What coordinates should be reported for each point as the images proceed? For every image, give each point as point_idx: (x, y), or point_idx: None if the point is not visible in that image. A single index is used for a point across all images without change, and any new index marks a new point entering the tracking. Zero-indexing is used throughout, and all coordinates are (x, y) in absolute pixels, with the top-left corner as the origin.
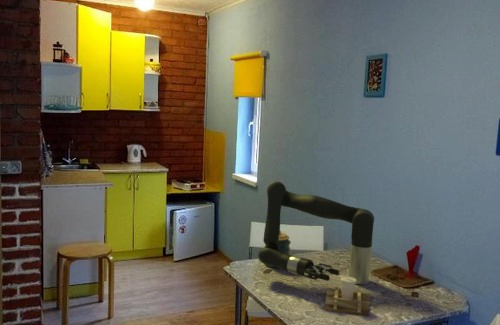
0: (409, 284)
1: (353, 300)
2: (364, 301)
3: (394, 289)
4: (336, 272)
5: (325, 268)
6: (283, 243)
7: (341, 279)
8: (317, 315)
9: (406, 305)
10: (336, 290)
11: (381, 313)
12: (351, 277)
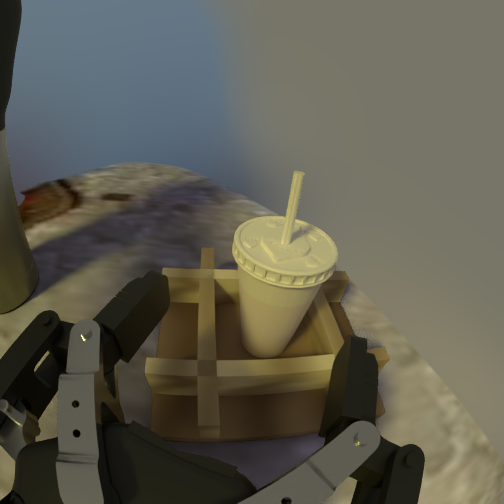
0: (60, 200)
1: (320, 292)
2: None
3: (84, 220)
4: (158, 300)
5: (103, 385)
6: None
7: (321, 269)
8: (435, 421)
9: (192, 211)
10: (224, 368)
11: None
12: (243, 228)
